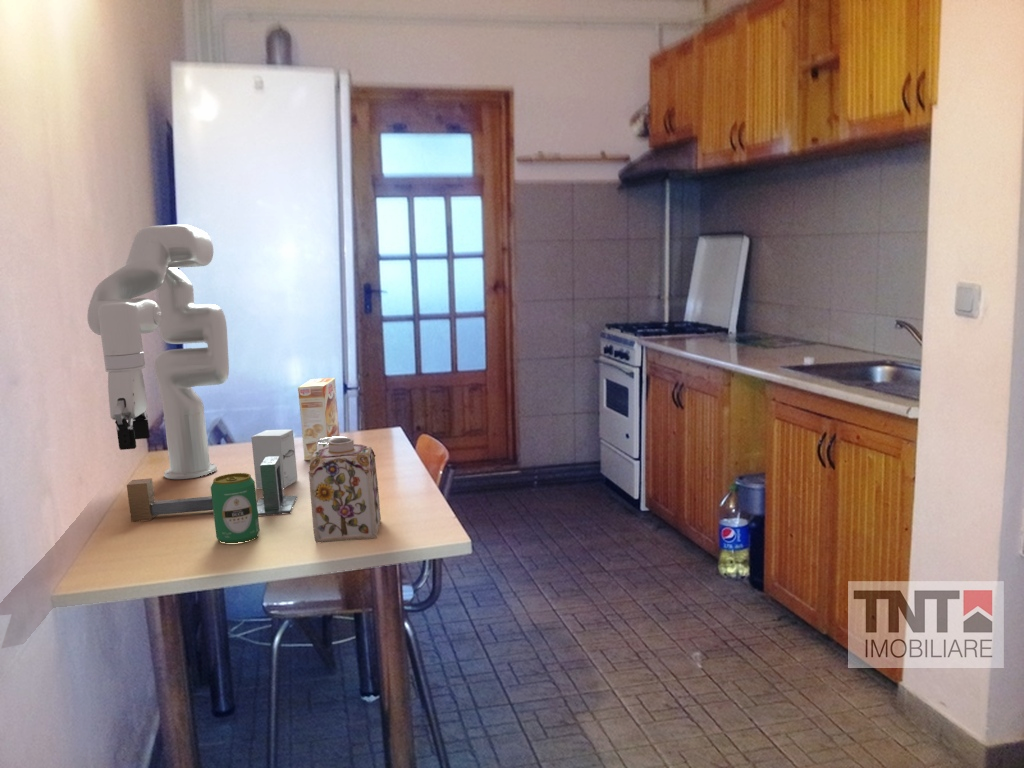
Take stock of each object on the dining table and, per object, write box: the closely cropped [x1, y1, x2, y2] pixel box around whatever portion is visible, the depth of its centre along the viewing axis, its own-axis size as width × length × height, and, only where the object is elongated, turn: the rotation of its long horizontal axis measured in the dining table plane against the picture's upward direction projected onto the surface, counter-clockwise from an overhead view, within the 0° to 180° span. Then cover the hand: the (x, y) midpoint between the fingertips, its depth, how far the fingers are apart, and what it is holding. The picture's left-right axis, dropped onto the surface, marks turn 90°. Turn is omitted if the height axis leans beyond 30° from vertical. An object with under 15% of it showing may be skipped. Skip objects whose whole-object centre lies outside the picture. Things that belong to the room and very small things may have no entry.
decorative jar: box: [307, 437, 382, 543], centre depth 169 cm, size 12×12×18 cm
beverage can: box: [210, 472, 261, 543], centre depth 169 cm, size 8×8×12 cm
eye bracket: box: [257, 456, 298, 516], centre depth 190 cm, size 12×8×10 cm, turn 7°
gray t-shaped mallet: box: [126, 477, 213, 523], centre depth 188 cm, size 4×24×8 cm, turn 97°
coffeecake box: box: [297, 377, 341, 461], centre depth 238 cm, size 15×7×20 cm, turn 179°
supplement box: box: [251, 429, 298, 489], centre depth 208 cm, size 7×7×13 cm
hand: (135, 443), depth 185 cm, fingers open, 9 cm apart
